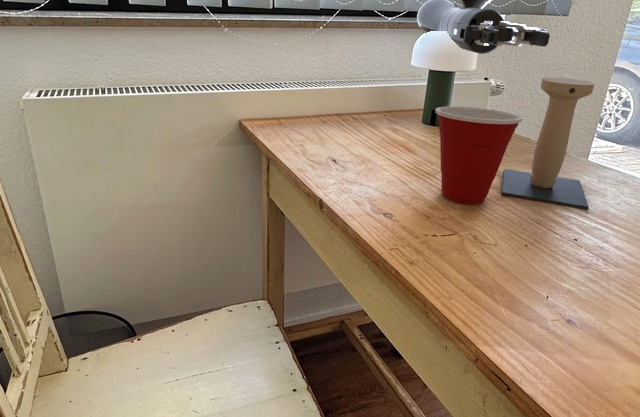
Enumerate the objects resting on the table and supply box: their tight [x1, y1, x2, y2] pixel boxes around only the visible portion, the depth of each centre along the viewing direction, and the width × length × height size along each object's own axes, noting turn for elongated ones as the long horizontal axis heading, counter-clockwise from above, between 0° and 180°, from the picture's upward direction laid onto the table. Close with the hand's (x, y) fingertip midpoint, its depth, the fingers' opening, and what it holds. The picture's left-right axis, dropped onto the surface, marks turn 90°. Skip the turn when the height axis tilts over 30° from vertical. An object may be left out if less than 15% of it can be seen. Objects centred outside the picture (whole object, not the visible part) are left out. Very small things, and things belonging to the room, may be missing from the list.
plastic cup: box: [434, 106, 524, 206], centre depth 65 cm, size 11×11×12 cm
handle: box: [530, 77, 595, 189], centre depth 69 cm, size 5×6×15 cm
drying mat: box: [501, 168, 589, 210], centre depth 72 cm, size 11×11×1 cm
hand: (521, 38), depth 76 cm, fingers open, 8 cm apart
